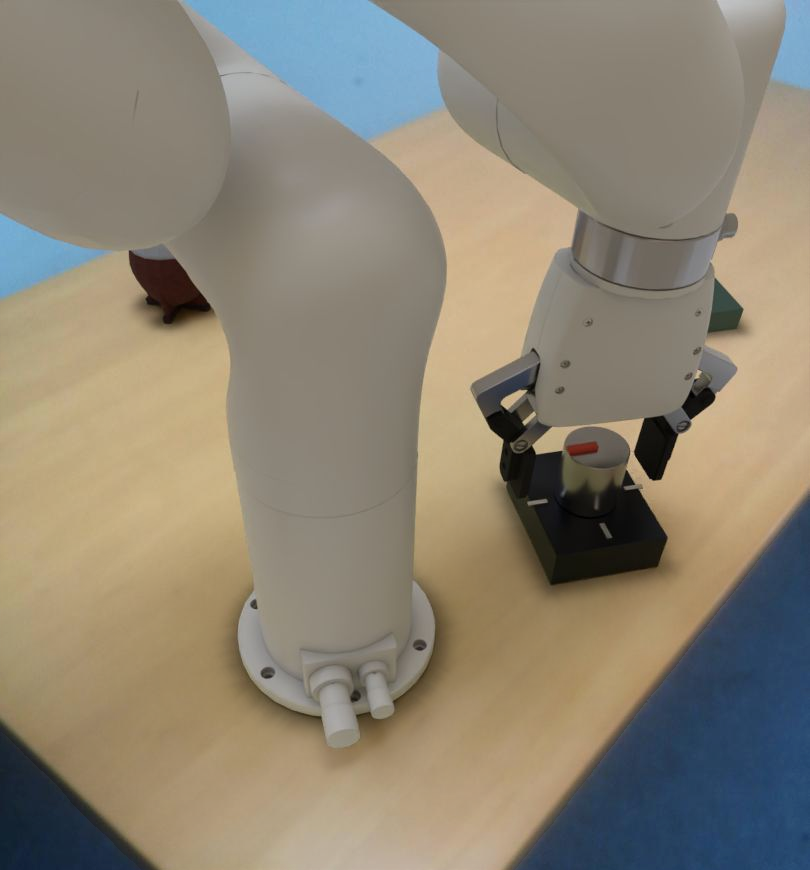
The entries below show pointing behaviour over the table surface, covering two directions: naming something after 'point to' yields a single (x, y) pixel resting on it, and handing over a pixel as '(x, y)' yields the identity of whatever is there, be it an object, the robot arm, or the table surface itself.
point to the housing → (724, 310)
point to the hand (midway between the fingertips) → (581, 476)
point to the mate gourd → (165, 281)
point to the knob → (591, 471)
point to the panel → (587, 529)
